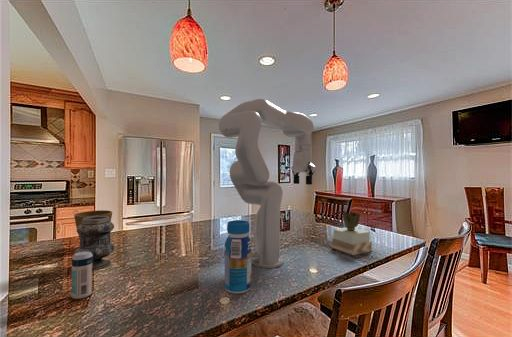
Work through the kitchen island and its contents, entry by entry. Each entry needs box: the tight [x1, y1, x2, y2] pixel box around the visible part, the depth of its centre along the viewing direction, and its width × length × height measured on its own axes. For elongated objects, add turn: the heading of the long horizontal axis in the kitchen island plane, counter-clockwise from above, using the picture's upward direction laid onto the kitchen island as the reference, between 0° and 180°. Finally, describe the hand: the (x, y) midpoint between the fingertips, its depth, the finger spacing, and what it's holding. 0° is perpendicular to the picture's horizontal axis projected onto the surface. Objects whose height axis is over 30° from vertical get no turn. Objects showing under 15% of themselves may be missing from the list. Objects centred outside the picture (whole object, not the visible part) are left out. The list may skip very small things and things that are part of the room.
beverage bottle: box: [223, 219, 253, 295], centre depth 75 cm, size 8×8×20 cm
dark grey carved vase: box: [74, 216, 115, 271], centre depth 92 cm, size 12×12×18 cm
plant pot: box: [73, 209, 113, 239], centre depth 114 cm, size 15×15×16 cm
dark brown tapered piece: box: [342, 211, 361, 231], centre depth 114 cm, size 8×7×8 cm
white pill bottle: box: [70, 251, 93, 300], centre depth 69 cm, size 5×5×12 cm
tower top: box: [333, 226, 370, 245], centre depth 114 cm, size 11×11×4 cm
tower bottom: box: [331, 238, 373, 256], centre depth 113 cm, size 12×12×4 cm
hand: (302, 184), depth 118 cm, fingers open, 9 cm apart
